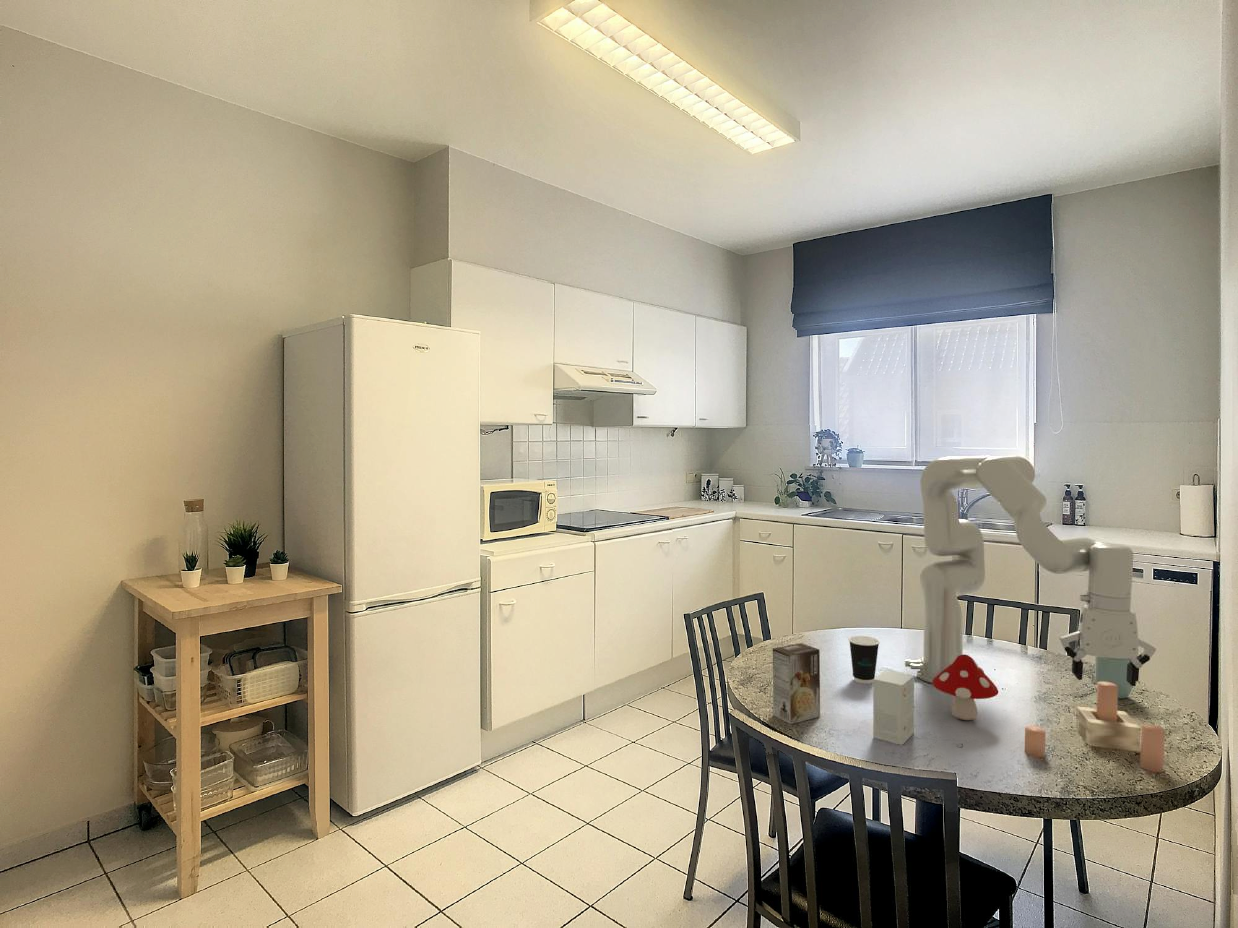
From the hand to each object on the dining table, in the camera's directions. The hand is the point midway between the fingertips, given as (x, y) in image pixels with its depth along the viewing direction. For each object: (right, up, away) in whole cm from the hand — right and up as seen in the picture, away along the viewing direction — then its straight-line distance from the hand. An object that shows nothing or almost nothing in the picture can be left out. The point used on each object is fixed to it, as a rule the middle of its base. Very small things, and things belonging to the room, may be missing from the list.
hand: (1104, 680), depth 148 cm
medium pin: (0, -13, -13) cm, 18 cm away
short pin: (-19, -13, -6) cm, 24 cm away
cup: (+20, -12, +25) cm, 34 cm away
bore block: (0, -13, 0) cm, 13 cm away
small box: (-44, -13, +3) cm, 46 cm away
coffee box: (-63, -13, +13) cm, 65 cm away
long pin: (0, -13, 0) cm, 13 cm away
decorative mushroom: (-24, -13, +12) cm, 30 cm away
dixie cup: (-38, -12, +37) cm, 55 cm away
